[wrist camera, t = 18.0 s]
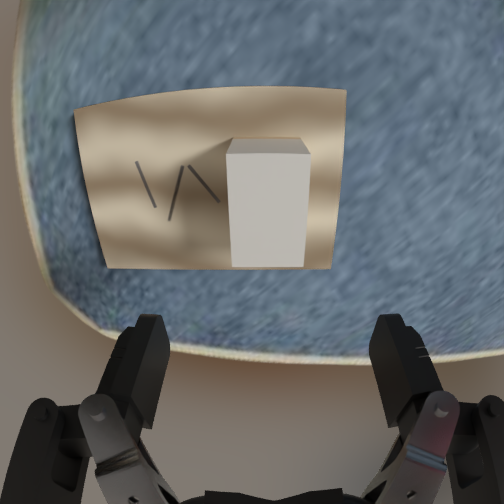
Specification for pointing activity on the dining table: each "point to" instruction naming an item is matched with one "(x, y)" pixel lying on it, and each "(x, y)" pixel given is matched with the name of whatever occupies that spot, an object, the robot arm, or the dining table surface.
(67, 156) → the dining table surface
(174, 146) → the birch board
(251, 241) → the block
